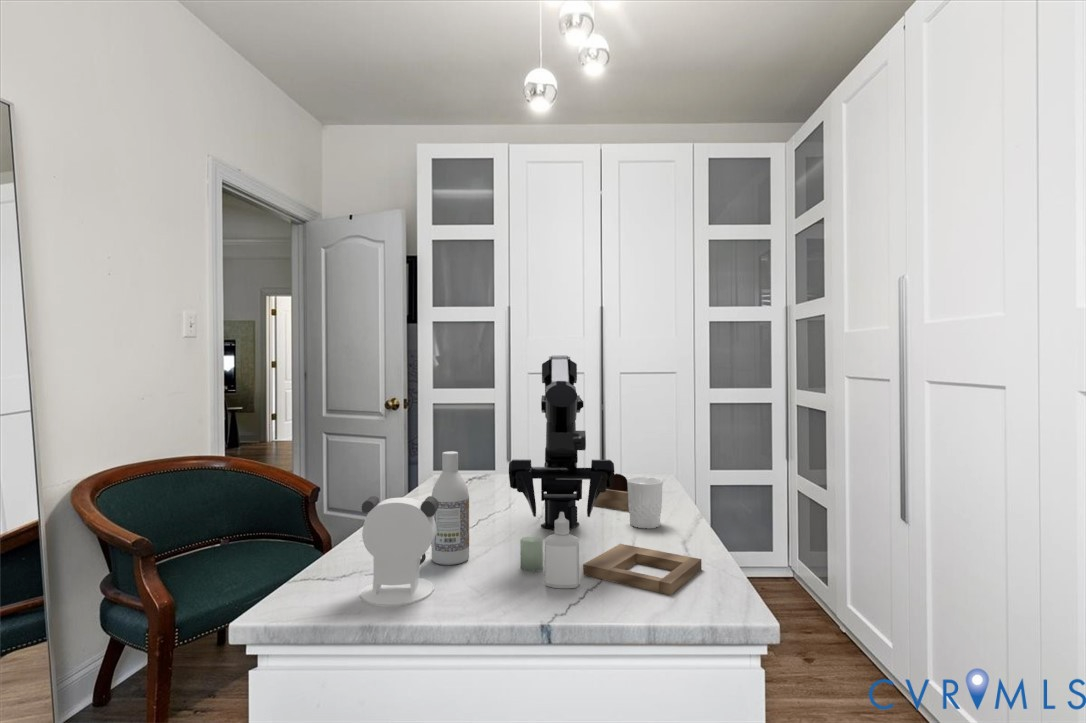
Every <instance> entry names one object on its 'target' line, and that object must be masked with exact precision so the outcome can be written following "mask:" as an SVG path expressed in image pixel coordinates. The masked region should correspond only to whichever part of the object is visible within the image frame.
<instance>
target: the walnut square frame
mask: <svg viewBox="0 0 1086 723" xmlns="http://www.w3.org/2000/svg"><path fill="white" fill-rule="evenodd" d="M636 564H639V565H643V566H648V567H652V568H659V569H663V570H668V571H670V572H669V573H667V575H664V576H663V577H659V576H655V575H649V574H646V573H645V574H644V573H640V572H635V571H631V570H628V569H630V568H631V567H632V566H635V565H636ZM701 570H702V558H697V557H692V556H687V555H681V554H676V553H672V552H671V553H670V552H668V551H667V552H666V551H661V550H655V549H649V548H644V547H640V546H633V545H630V544H629V545H628V544H624V543H619V544H617V545H615V546H613V547H612V548H610V549H608V550H606V551H605V552H602V553H601V554H599V555H597V556H595V557H594V558H592V559H590V560H588V561H586V562H584V563H583V564H582V575H583V576H587V577H590V578H596V579H599V580H605V581H608V582H613V583H617V584H621V585H626V586H630V587H635V588H638V589H643V590H648V591H652V592H656V593H660V594H665V595H668V596H672V595H673V594H674V593H675V592H676V591H677V590H679V589H680V588H681V587H682V586H683V585H685V584H686V583H687V582H689V580H690V579H692V578H693V577H694V576H695V575H697V574H698V573H699V572H701Z"/></svg>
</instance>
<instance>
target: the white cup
mask: <svg viewBox="0 0 1086 723" xmlns="http://www.w3.org/2000/svg"><path fill="white" fill-rule="evenodd" d="M627 486H628V506H629V511H628V513H629V524H630V526H631V527H633V526H634V528H637V527H638V528H637V529H645V528H647V529H656V527H657V528H659V527H660V526H661V514H662V506H663V505H662V504H663V480H662V479H660V478H656V477H652V476H651V477H650V476H647V477H646V476H639V477H638V476H637V477H630V478H627Z"/></svg>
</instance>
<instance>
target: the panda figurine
mask: <svg viewBox="0 0 1086 723" xmlns="http://www.w3.org/2000/svg"><path fill="white" fill-rule="evenodd" d="M361 504H362V505H361V512H362V513H364V514H367V515H366V516H365V519H364V522H363V527H362V532H361V536H362V538H361V539H362V541H363V545H364V547H365V549H366V551H367V552H368V553H369V554H370V555H371V556H372V557H373V580H372V583H370V584H368V585H366V586H365V587H364V588H362V590H361V591H360V599H361V601H363V602H364V603H366V604H368V605H371V606H377V607H382V608H383V607H384V608H385V607H386V608H388V607H389V608H393V607H402V606H408V605H413V604H417V603H419V602H421V601H425V599H427V598H429V597H431V596H432V595H433V593H434V590H435V589H434V584H433V583H432V582H431V581H429V580H427V579H423V578H421V577H420V570H421V568H420V567H421V565H422V564H423V563H425V561H426V557H427V556H426V552H427V551H428V550H429V548H430V546H431V543H432V541H433V539H434V537H435V535H436V522H435V519H434V517H433V515H434V514H435V512H436V511H437V509H438V507H439V503H438V501H437V499H436V498H435V497H433V496H432V495H430V496H427V497H426V498H425V499H424V501H423V502H422V501H420V500H418V499H415V498H411V497H391V498H386V499H384V500H382V501H380V498H379V497H378V496H375V495H373V496H369V497H368V498H367V499H366V500H365V501H364V502H363V503H361Z"/></svg>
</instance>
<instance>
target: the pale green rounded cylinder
mask: <svg viewBox="0 0 1086 723" xmlns="http://www.w3.org/2000/svg"><path fill="white" fill-rule="evenodd" d="M543 541H544V540H543V538H542V537H538V536H525V537H522V538H520V546H519V547H520V550H519V552H520V556H519V558H520V563H519V565H520V569H521V571H523V572H528V573H529V572H530V573H531V572H534V573H535V572H540V571H542V570H543V568H544V563H543V562H544V557H543V556H544V554H543V553H544V552H543V550H544V548H543V546H544V542H543Z"/></svg>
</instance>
